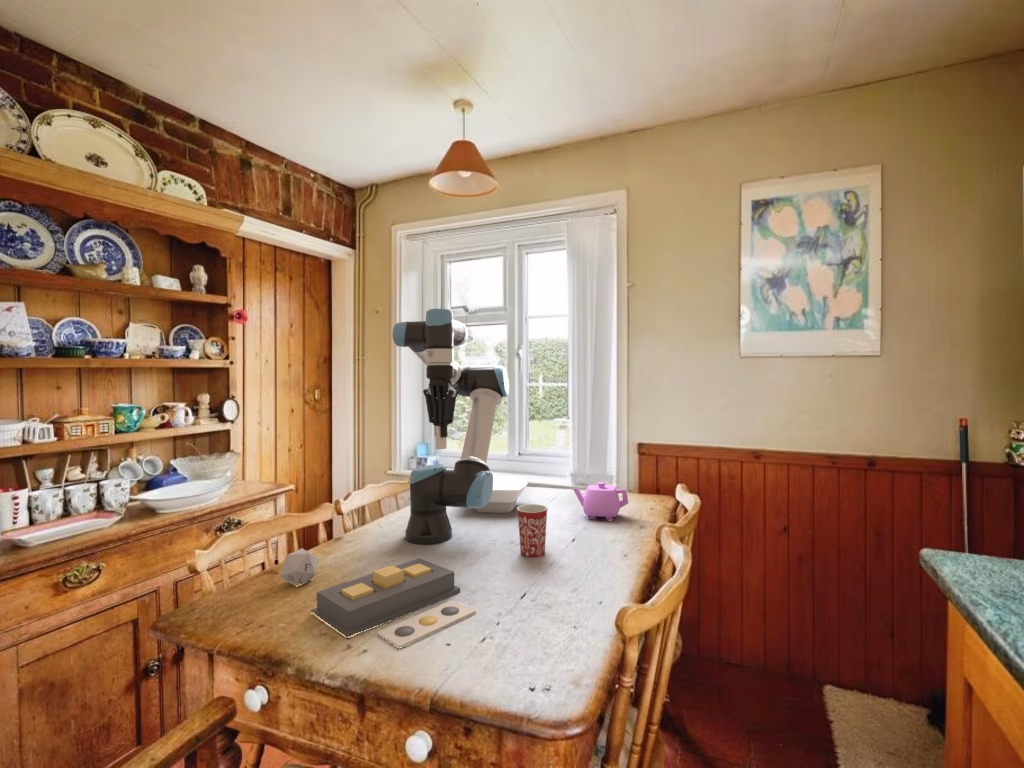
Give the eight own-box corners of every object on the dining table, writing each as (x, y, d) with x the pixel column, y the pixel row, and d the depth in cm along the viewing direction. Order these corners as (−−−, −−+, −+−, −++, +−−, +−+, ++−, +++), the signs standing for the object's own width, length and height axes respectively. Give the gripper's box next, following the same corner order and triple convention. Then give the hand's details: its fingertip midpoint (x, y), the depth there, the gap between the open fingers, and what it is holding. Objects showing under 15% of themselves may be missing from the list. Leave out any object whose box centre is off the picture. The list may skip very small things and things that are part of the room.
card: (376, 635, 104) (376, 631, 104) (452, 602, 118) (452, 599, 118) (399, 649, 98) (399, 645, 98) (475, 613, 113) (475, 610, 113)
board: (310, 614, 113) (310, 592, 113) (420, 574, 135) (420, 556, 135) (346, 639, 102) (346, 614, 102) (460, 592, 124) (459, 571, 124)
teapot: (629, 513, 192) (628, 480, 192) (627, 523, 180) (627, 487, 180) (576, 510, 197) (575, 478, 197) (571, 519, 185) (571, 484, 185)
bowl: (471, 500, 216) (471, 476, 216) (530, 501, 212) (530, 477, 212) (457, 515, 192) (457, 488, 192) (523, 517, 188) (523, 490, 188)
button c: (402, 585, 124) (402, 569, 124) (419, 579, 128) (419, 563, 128) (414, 591, 121) (414, 574, 121) (431, 584, 125) (431, 568, 125)
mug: (539, 560, 145) (539, 513, 144) (512, 555, 149) (511, 509, 149) (558, 547, 155) (557, 503, 155) (531, 542, 160) (531, 500, 160)
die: (275, 594, 126) (293, 564, 124) (273, 566, 133) (291, 538, 130) (308, 596, 131) (326, 569, 129) (304, 569, 138) (322, 542, 136)
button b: (373, 588, 119) (373, 571, 118) (391, 581, 122) (391, 565, 122) (385, 594, 115) (385, 576, 115) (403, 587, 119) (403, 570, 119)
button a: (341, 607, 113) (341, 589, 113) (362, 600, 116) (361, 582, 116) (353, 614, 109) (352, 596, 109) (373, 606, 113) (373, 588, 113)
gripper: (415, 365, 144) (416, 448, 144) (444, 364, 135) (445, 452, 135) (436, 365, 149) (437, 445, 150) (465, 364, 140) (466, 449, 141)
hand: (441, 448), depth 142 cm, fingers closed
